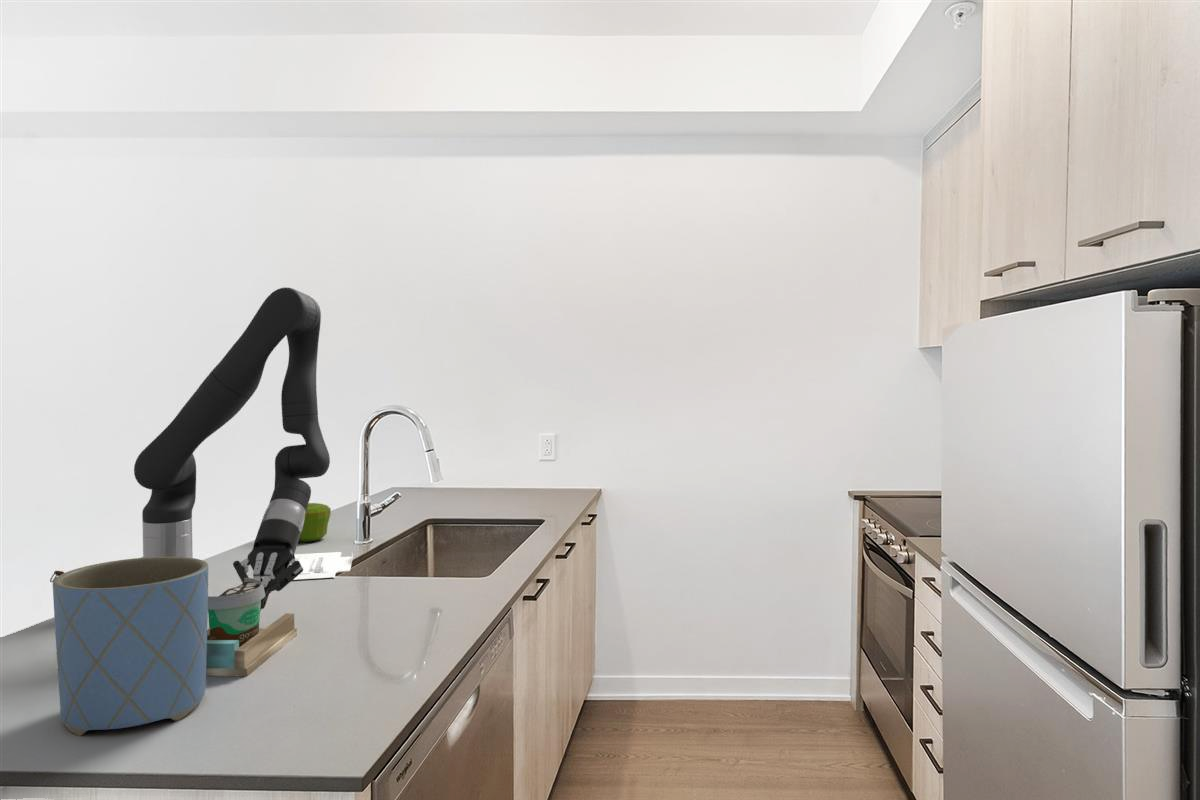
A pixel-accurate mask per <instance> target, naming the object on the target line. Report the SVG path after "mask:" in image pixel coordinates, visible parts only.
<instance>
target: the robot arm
mask: <svg viewBox="0 0 1200 800" xmlns="http://www.w3.org/2000/svg"><path fill="white" fill-rule="evenodd" d="M321 313H322V312H321V308H320V305H319V304H318V302H317V301H316V299H314V298H313V297H311V296H310V295H308V294H306V293H304V292H301V291H299V290H298V289H295V288H291V287H280V288H278V289H276V290H273V292H271V293H270V294H268V295H267V297H266V298H265V300H264V301H263V302H262V304H261V305H260V307H259V308H258V309H257V311H256V313H255V314H254V316H253V318H252V319H251V321H250V323H248V326H247V327H246V328H245V329H244V331H243V333H242V334H241V335H240V337H239V338H238V339H237V340H236V342H234V344H233V345H232V346H231V347H230V349H229V350H228V351H227V353H226V354H225V355H224V356H223V358H222V359H221V360H220V361H219V362H218V363H217V365H216V366H215V367H214V368H213V369H212V370H211V371H210V372H209V374H208V375H207V376H206V377H205V378H204V380H203V381H202V382H201V384H200V385H199V386H198V387H197V389H196V390H195V392H193V394H192V395H191V396H190V398H189V399H188V400H187V402H186V403H185V404H184V405H183V407H182V408H181V409H180V411H178V413H177V415H176V416H175V417H174V419H173V420H172V421H171V422H170V423H169V424H168V425H167V426H166V427H165V429H164V430H163V431H161V432H160V433H159V434H158V435H157V436H156V437H155V438H154V439H153V440H151V442H150V443H149V444H148V445H147V446H146V447H145V448H144V449H143V450H141V452H140V453H139V455H138V456H137V458H136V460H135V463H134V467H133V473H134V474H133V475H134V478H135V480H136V482H137V483H138V484H139V486H141V487H143V488H145V489H147V490H151V493H150V497H149V500H148V501H147V503H146V504H145V506H144V507H143V509H142V515H141V516H142V556H141V557H140V558H146V557H188V558H193V509H194V506H195V503H196V497H197V496H196V495H197V491H196V490H197V464H196V459H195V456H194V452H195V451H196V450H197V449H198V447H199V446H200V445H201V444H202V443H203V442H204V441H205V440H206V439H207V438H209V437H210V436H212V435H213V434H214V433H216V432H217V431H218V430H219V429H221V428H222V427H223V426H224V425H226V424H227V423H228V422H229V421H231V420H232V419H233V418H234V417H235V416H236V415H237V414H238V413H239V412H240V411H241V410H242V409H243V408H244V406H246V405H245V404H247V402H248V401H249V400H250V399H251V397H253V395H254V393H255V392H256V390H257V389H258V387H259V385H260V382H261V380H262V376H263V373H264V369H265V367H266V366H265V365H266V364H267V360H268V358H269V357H270V355H271V353H272V352H273V351H274V350H275V348H276V347H277V346H278V345H279V344H280V342H281V341H283V339H284V338H285V337H286V339H287V345H288V360H287V361H288V364H287V367H286V370H285V371H286V372H285V375H284V379H283V383H282V386H281V394H280V395H281V399H280V400H281V403H280V404H281V417H282V420H281V422H282V429H283V431H284V432H285V433H288V434H293V435H300V436H301V437H302V438H303V440H304V441H305V444H304V443H303V444H297V445H296V444H295V445H288V446H287V445H286V446H284V447H282V448H281V449H280V450H279V451H278V452H277V454H276V456H275V460H274V487H273V492H272V495H271V497H270V500H269V504H268V506H267V508H266V509H265V511H264V513H263V516H262V519H261V521H260V525H259V528H258V530H257V533H256V536H255V539H254V542H253V547H252V550H251V551H250V552H249V553H248V555H247V557H246V558H245V559H243V560H242V561H239V560H235V561H233V563H232V566H233V568H234V570H235V571H236V573H237V575H238V577H239V579H240V582H241V584H243V583H244V578H250V577H249V576H248V574H247V573H249V569H250V567H251V569H252V575H253V577H252V578H253V579H257V580H259V581H261V582H262V585H263V587H264V591H265V597H264V598H263V599H261V608H260V612H261V611H262V610H263V609H264V608H265V607H266V605H267V602H268V598H269V596H270V594H271V593H272V592H274V591H276V592H280V591H281V590H283V589H284V588H285V587H286V586H287V585H289V584H290V583H291V582H292V581H294V580H293V579H294V578H296V577H297V576H298V575H299V574H300V573H302V572H303V568H302V565H301V564H300V562H299V561H296V560H295V556H294V554H296V553H295V552H296V550H297V546H298V543H299V541H298V540H299V537H300V534H301V531H302V529H303V524H304V518H305V513H306V509H307V506H308V503H310V500H311V495H312V489H311V486H310V485H309V484H308V483H307V481H304V480H302V479H310V478H318V477H322V476H324V475H325V474H326V473H327V471H328V469H329V467H330V464H331V460H330V459H331V457H330V453H329V450H328V447H327V445H326V442H325V439H324V436H323V433H322V429H321V427H320V421H319V412H318V411H319V410H318V409H319V408H318V407H319V406H318V396H317V395H318V394H317V366H318V364H317V363H318V351H319V350H318V349H319V340H320V332H321V321H322V314H321Z"/></svg>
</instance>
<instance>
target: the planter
mask: <svg viewBox="0 0 1200 800" xmlns="http://www.w3.org/2000/svg"><path fill="white" fill-rule="evenodd" d="M54 578H55V577H54ZM54 578H53V579H54ZM53 579H52V580H53ZM52 595H53V596H52V597H53V613H54V615H53V616H54V635H55V648H56V649H55V650H56V664H57V677H58V692H59V707H60V716H61V720H62V722H63V723H64V726H65V727H66V728H67V730H69V731H70V732H71V733H72V734H74V735H77V736H84V735H86V733H87V732H88V731H93V730H94V731H97V730H98V731H99V730H102V731H105V730H117V729H118V730H119V729H124V728H131V727H136V726H141V725H146V724H150V723H153V722H156V721H162V720H165V719H171V720H172V721H174V722H178V721H180V720H182V719H183V718H184V717H186V716H187V715H188V714H190V713H191V712H192V711H193V710H194V709H195V708H196V707H197V705H199V703H200V702H201V701H202V699H203V697H204V696H205V692H206V687H207V686H206V685H207V676H206V654H207V630H208V621H209V617H208V596H209V563H208V562H206V561H205V560H202V559H200V558H199V559H198V558H188V557H146V558H141V557H138V558H137V557H136V558H128V559H119V560H113V561H112V560H111V561H106V562H105V561H104V562H100V563H95V564H91V565H85V566H82V567H78V568H75V569H72V570H71V569H70V570H69V571H66V572H64V573H63V574H61V575H59V576H57V577H56V578H55V579H54V580H53V582H52Z"/></svg>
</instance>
